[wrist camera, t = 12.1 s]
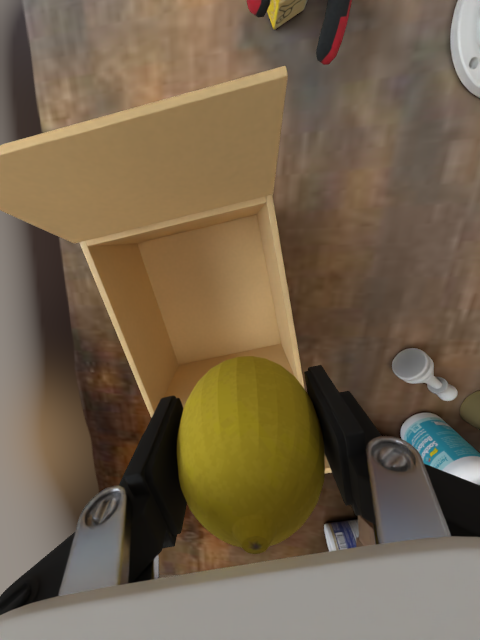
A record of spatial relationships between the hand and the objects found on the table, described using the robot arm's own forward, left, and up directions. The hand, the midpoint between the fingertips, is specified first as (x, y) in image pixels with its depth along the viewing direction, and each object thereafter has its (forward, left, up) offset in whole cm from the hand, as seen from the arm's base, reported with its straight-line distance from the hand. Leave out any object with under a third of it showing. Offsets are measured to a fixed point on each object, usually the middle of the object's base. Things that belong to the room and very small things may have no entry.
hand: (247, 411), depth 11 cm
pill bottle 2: (+26, +22, -21) cm, 40 cm away
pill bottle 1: (+44, +5, -19) cm, 48 cm away
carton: (-1, -3, -21) cm, 22 cm away
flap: (-11, -3, -6) cm, 13 cm away
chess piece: (+12, +19, -19) cm, 29 cm away
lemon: (0, 0, -3) cm, 3 cm away
